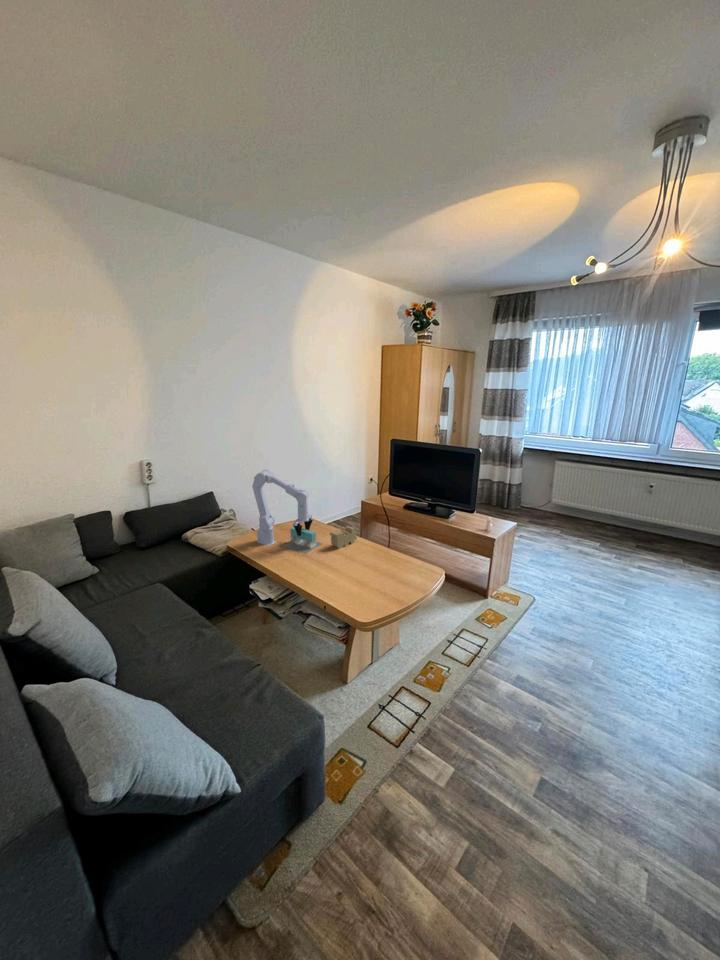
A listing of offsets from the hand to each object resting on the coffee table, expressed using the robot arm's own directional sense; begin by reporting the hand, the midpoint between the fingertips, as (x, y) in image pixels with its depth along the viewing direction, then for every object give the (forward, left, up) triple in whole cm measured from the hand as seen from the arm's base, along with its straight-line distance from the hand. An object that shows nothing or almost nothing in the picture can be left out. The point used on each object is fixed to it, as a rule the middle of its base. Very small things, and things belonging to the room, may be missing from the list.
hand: (303, 533), depth 225 cm
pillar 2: (+5, 0, -7) cm, 9 cm away
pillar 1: (-5, 0, -7) cm, 9 cm away
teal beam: (0, 0, -3) cm, 3 cm away
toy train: (+20, +13, -8) cm, 25 cm away
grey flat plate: (0, -1, -8) cm, 8 cm away
